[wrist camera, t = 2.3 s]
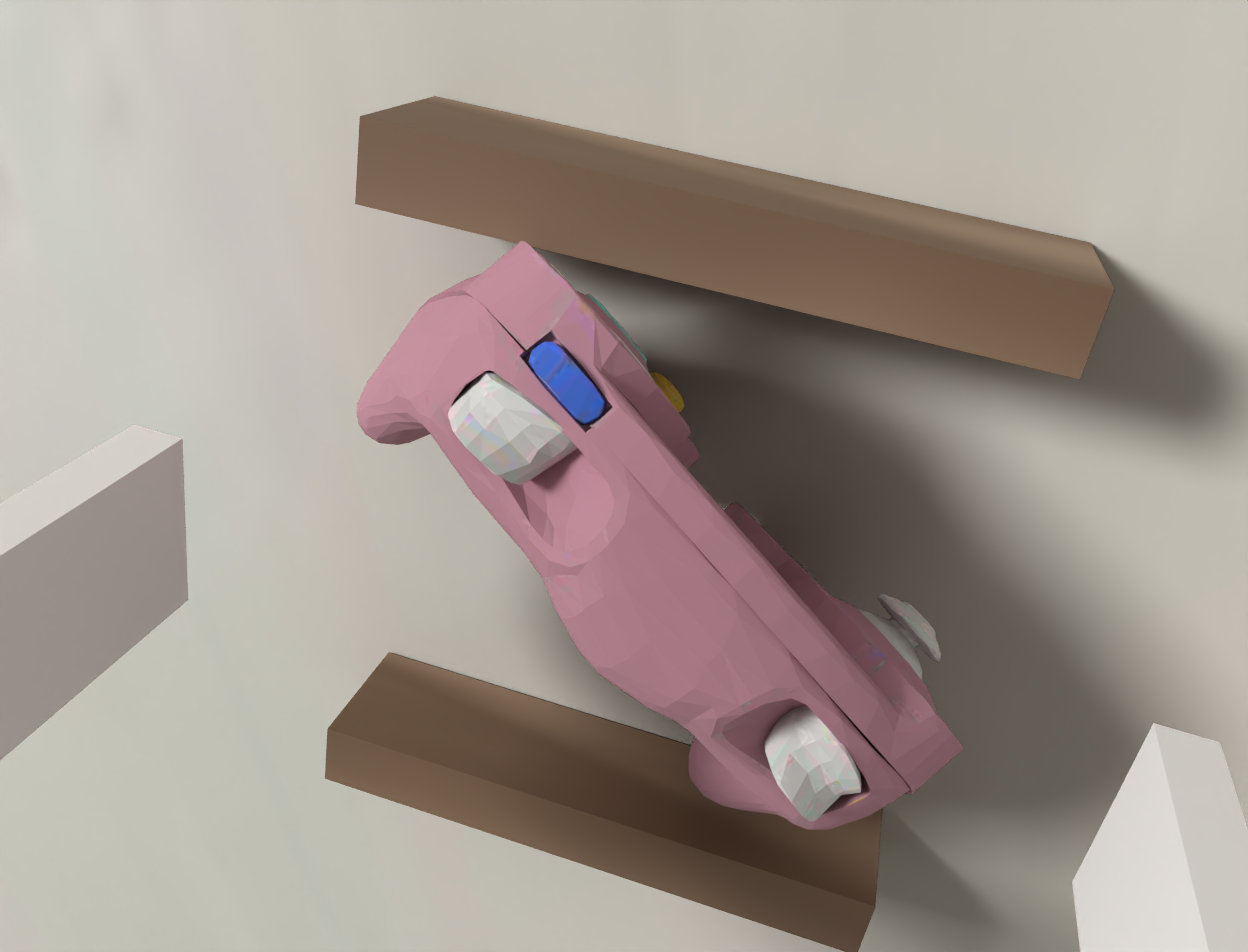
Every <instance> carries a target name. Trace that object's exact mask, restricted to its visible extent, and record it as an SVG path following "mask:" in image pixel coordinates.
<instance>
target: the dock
mask: <svg viewBox="0 0 1248 952" xmlns="http://www.w3.org/2000/svg"><path fill="white" fill-rule="evenodd" d="M355 204H358V205H362V206H366V207H370V208H374V209H378V210H383V211H387V212H391V213H395V214H399V215H403V216H407V217H411V218H416V219H420V220H424V221H428V222H432V223H436V224H440V225H444V226H449V227H453V228H457V229H461V230H465V231H469V232H473V233H477V234H482V235H486V236H490V237H494V238H498V239H502V240H506V241H510V242H514V243H519V242H521V241H525V242H526V243H528V244H529V245H530V246H532V247H535V248H539V249H543V250H547V251H552V252H556V253H560V254H564V255H568V256H572V257H576V258H580V259H585V260H589V261H593V262H597V263H601V264H605V265H609V266H613V267H617V268H622V269H626V270H630V271H634V272H638V273H642V274H646V275H650V276H655V277H659V278H663V279H667V280H671V281H675V282H679V283H683V284H688V285H692V286H696V287H700V288H704V289H708V290H712V291H716V292H721V293H725V294H729V295H733V296H737V297H741V298H745V299H749V300H753V301H758V302H762V303H766V304H770V305H774V306H778V307H782V308H786V309H791V310H795V311H799V312H803V313H807V314H811V315H815V316H819V317H824V318H828V319H832V320H836V321H840V322H844V323H848V324H852V325H857V326H861V327H865V328H869V329H873V330H877V331H881V332H885V333H889V334H894V335H898V336H902V337H906V338H910V339H914V340H918V341H922V342H927V343H931V344H935V345H939V346H943V347H947V348H951V349H955V350H960V351H964V352H968V353H972V354H976V355H980V356H984V357H988V358H992V359H997V360H1001V361H1005V362H1009V363H1013V364H1017V365H1021V366H1025V367H1030V368H1034V369H1038V370H1042V371H1046V372H1050V373H1054V374H1058V375H1063V376H1067V377H1071V378H1075V379H1079V380H1080V378H1081V375H1082V372H1083V370H1084V367H1085V365H1086V362H1087V360H1088V357H1089V354H1090V352H1091V349H1092V347H1093V344H1094V342H1095V339H1096V336H1097V334H1098V331H1099V329H1100V326H1101V323H1102V321H1103V318H1104V316H1105V313H1106V311H1107V308H1108V305H1109V303H1110V300H1111V298H1112V295H1113V293H1114V290H1115V289H1114V287H1113V285H1112V283H1111V281H1110V279H1109V277H1108V275H1107V273H1106V271H1105V270H1104V268H1103V266H1102V264H1101V262H1100V260H1099V258H1098V256H1097V254H1096V252H1095V250H1094V248H1093V246H1092V244H1091V243H1089V242H1085V241H1080V240H1076V239H1071V238H1067V237H1062V236H1058V235H1054V234H1049V233H1045V232H1040V231H1036V230H1031V229H1027V228H1022V227H1018V226H1013V225H1009V224H1004V223H1000V222H995V221H991V220H986V219H982V218H977V217H973V216H968V215H964V214H960V213H955V212H951V211H946V210H942V209H937V208H933V207H928V206H924V205H919V204H915V203H910V202H906V201H901V200H897V199H892V198H888V197H883V196H879V195H874V194H870V193H865V192H861V191H857V190H852V189H848V188H843V187H839V186H834V185H830V184H825V183H821V182H816V181H812V180H807V179H803V178H798V177H794V176H789V175H785V174H780V173H776V172H771V171H767V170H763V169H758V168H754V167H749V166H745V165H740V164H736V163H731V162H727V161H722V160H718V159H713V158H709V157H704V156H700V155H695V154H691V153H686V152H682V151H677V150H673V149H669V148H664V147H660V146H655V145H651V144H646V143H642V142H637V141H633V140H628V139H624V138H619V137H615V136H610V135H606V134H601V133H597V132H592V131H588V130H583V129H579V128H574V127H570V126H566V125H561V124H557V123H552V122H548V121H543V120H539V119H534V118H530V117H525V116H521V115H516V114H512V113H507V112H503V111H498V110H494V109H489V108H485V107H480V106H476V105H472V104H467V103H463V102H458V101H454V100H449V99H445V98H440V97H436V96H434V97H430V98H427V99H423V100H419V101H415V102H412V103H408V104H404V105H401V106H397V107H393V108H389V109H386V110H382V111H378V112H375V113H371V114H367V115H363V116H360V125H359V144H358V163H357V182H356V201H355ZM690 748H691V746H689V745H686V744H683V743H680V742H676V741H673V740H670V739H667V738H663V737H660V736H657V735H654V734H651V733H647V732H644V731H641V730H638V729H634V728H631V727H628V726H625V725H622V724H618V723H615V722H612V721H609V720H605V719H602V718H599V717H596V716H593V715H589V714H586V713H583V712H580V711H576V710H573V709H570V708H567V707H563V706H560V705H557V704H554V703H551V702H547V701H544V700H541V699H538V698H534V697H531V696H528V695H525V694H522V693H518V692H515V691H512V690H509V689H505V688H502V687H499V686H496V685H493V684H489V683H486V682H483V681H480V680H476V679H473V678H470V677H467V676H464V675H460V674H457V673H454V672H451V671H447V670H444V669H441V668H438V667H435V666H431V665H428V664H425V663H422V662H418V661H415V660H412V659H409V658H405V657H402V656H399V655H396V654H393V653H388V654H387V655H386V657H385V658H384V659H383V660H382V662H381V663H380V664H379V665H378V667H377V668H376V669H375V670H374V672H373V673H372V674H371V675H370V677H369V678H368V679H367V680H366V682H365V683H364V684H363V685H362V687H361V688H360V689H359V690H358V692H357V693H356V694H355V695H354V697H353V698H352V699H351V700H350V702H349V703H348V704H347V705H346V707H345V708H344V709H343V710H342V712H341V713H340V714H339V715H338V717H337V718H336V719H335V720H334V722H333V723H332V724H331V725H330V727H329V728H328V732H327V751H326V770H325V779H328V780H331V781H334V782H337V783H340V784H343V785H346V786H349V787H352V788H355V789H358V790H361V791H364V792H367V793H370V794H373V795H376V796H379V797H382V798H385V799H388V800H391V801H394V802H397V803H400V804H403V805H406V806H409V807H412V808H415V809H418V810H421V811H424V812H427V813H430V814H433V815H436V816H439V817H442V818H445V819H448V820H451V821H454V822H457V823H460V824H463V825H466V826H469V827H472V828H475V829H478V830H481V831H484V832H487V833H490V834H493V835H496V836H499V837H502V838H505V839H508V840H511V841H514V842H517V843H520V844H523V845H527V846H530V847H533V848H536V849H539V850H542V851H545V852H548V853H551V854H554V855H557V856H560V857H563V858H566V859H569V860H572V861H575V862H578V863H581V864H584V865H587V866H590V867H593V868H596V869H599V870H602V871H605V872H608V873H611V874H614V875H617V876H620V877H623V878H626V879H629V880H632V881H635V882H638V883H641V884H644V885H647V886H650V887H653V888H656V889H659V890H662V891H665V892H668V893H671V894H674V895H677V896H680V897H683V898H686V899H689V900H692V901H695V902H698V903H701V904H704V905H707V906H710V907H713V908H716V909H719V910H722V911H725V912H728V913H731V914H734V915H737V916H740V917H743V918H746V919H749V920H752V921H755V922H758V923H761V924H764V925H767V926H770V927H773V928H776V929H779V930H782V931H785V932H788V933H791V934H794V935H797V936H800V937H803V938H806V939H809V940H812V941H815V942H818V943H821V944H824V945H827V946H830V947H833V948H836V949H839V950H842V951H845V952H858V950H859V947H860V945H861V942H862V940H863V937H864V934H865V932H866V929H867V927H868V924H869V922H870V919H871V916H872V914H873V911H874V909H875V903H876V889H877V876H878V862H879V848H880V834H881V820H882V808H881V809H879V810H878V811H876V812H874V813H873V814H871V815H869V816H867V817H864V818H861V819H858V820H856V821H853V822H850V823H847V824H844V825H841V826H838V827H835V828H832V829H826V830H807V829H805V828H802V827H800V826H797V825H795V824H792V823H791V822H790V821H789V820H787V819H786V818H783V817H781V816H779V815H777V814H770V813H761V812H753V811H744V810H739V809H735V808H730V807H726V806H722V805H720V804H718V803H716V802H714V801H712V800H710V799H708V798H706V797H705V796H703V794H702V793H701V792H700V791H699V789H698V788H697V787H696V786H695V784H694V783H693V782H692V781H691V779H690V776H689V771H688V768H689V752H690Z"/></svg>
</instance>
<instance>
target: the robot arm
mask: <svg viewBox="0 0 1248 952" xmlns="http://www.w3.org/2000/svg"><path fill="white" fill-rule="evenodd" d="M187 600H188V584H187V556H186V527H185V499H184V470H183V442H182V438H178V437H175V436H172V435H168V434H165V433H161V432H158V431H154V430H151V429H148V428H144V427H141V426H137V425H132V426H131V427H129V428H127V429H126V430H124V431H122V432H121V433H119V434H117V435H115V436H114V437H112V438H110V439H109V440H107V441H105V442H104V443H102V444H100V445H98V446H97V447H95V448H93V449H92V450H90V451H88V452H87V453H85V454H83V455H81V456H80V457H78V458H76V459H75V460H73V461H71V462H70V463H68V464H66V465H64V466H63V467H61V468H59V469H58V470H56V471H54V472H52V473H51V474H49V475H47V476H46V477H44V478H42V479H41V480H39V481H37V482H35V483H34V484H32V485H30V486H29V487H27V488H25V489H24V490H22V491H20V492H18V493H17V494H15V495H13V496H12V497H10V498H8V499H7V500H5V501H3V502H1V503H0V760H1V759H2V758H4V757H5V756H6V755H7V754H8V753H9V752H11V751H12V750H13V749H14V748H15V747H16V746H18V745H19V744H20V743H21V742H22V741H23V740H25V739H26V738H27V737H28V736H29V735H30V734H32V733H33V732H34V731H35V730H36V729H37V728H39V727H40V726H41V725H42V724H43V723H44V722H46V721H47V720H48V719H49V718H50V717H52V716H53V715H54V714H55V713H56V712H57V711H59V710H60V709H61V708H62V707H63V706H64V705H66V704H67V703H68V702H69V701H70V700H71V699H73V698H74V697H75V696H76V695H77V694H78V693H80V692H81V691H82V690H83V689H84V688H85V687H87V686H88V685H89V684H90V683H91V682H92V681H94V680H95V679H96V678H97V677H98V676H99V675H101V674H102V673H103V672H104V671H105V670H106V669H108V668H109V667H110V666H111V665H112V664H113V663H115V662H116V661H117V660H118V659H119V658H121V657H122V656H123V655H124V654H125V653H126V652H128V651H129V650H130V649H131V648H132V647H133V646H135V645H136V644H137V643H138V642H139V641H140V640H142V639H143V638H144V637H145V636H146V635H147V634H149V633H150V632H151V631H152V630H153V629H154V628H156V627H157V626H158V625H159V624H160V623H161V622H163V621H164V620H165V619H166V618H167V617H168V616H170V615H171V614H172V613H173V612H174V611H175V610H177V609H178V608H179V607H180V606H181V605H183V604H184V603H185V602H186V601H187ZM1072 885H1073V893H1074V902H1075V911H1076V919H1077V928H1078V937H1079V945H1080V952H1248V828H1247V825H1246V822H1245V819H1244V816H1243V812H1242V809H1241V806H1240V803H1239V800H1238V797H1237V794H1236V791H1235V787H1234V784H1233V781H1232V778H1231V775H1230V772H1229V769H1228V765H1227V762H1226V759H1225V756H1224V753H1223V750H1222V747H1221V744H1220V742H1217V741H1213V740H1210V739H1207V738H1203V737H1200V736H1196V735H1193V734H1189V733H1186V732H1183V731H1179V730H1176V729H1172V728H1169V727H1166V726H1162V725H1159V724H1155V723H1153V725H1152V727H1151V729H1150V731H1149V733H1148V735H1147V737H1146V739H1145V741H1144V743H1143V745H1142V747H1141V749H1140V751H1139V753H1138V755H1137V756H1136V758H1135V760H1134V762H1133V764H1132V766H1131V768H1130V770H1129V772H1128V774H1127V776H1126V778H1125V780H1124V782H1123V784H1122V786H1121V788H1120V790H1119V792H1118V794H1117V796H1116V798H1115V800H1114V801H1113V803H1112V805H1111V807H1110V809H1109V811H1108V813H1107V815H1106V817H1105V819H1104V821H1103V823H1102V825H1101V827H1100V829H1099V831H1098V833H1097V835H1096V837H1095V839H1094V841H1093V843H1092V845H1091V846H1090V848H1089V850H1088V852H1087V854H1086V856H1085V858H1084V860H1083V862H1082V864H1081V866H1080V868H1079V870H1078V872H1077V874H1076V876H1075V878H1074V880H1073V882H1072Z"/></svg>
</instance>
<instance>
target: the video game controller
mask: <svg viewBox="0 0 1248 952" xmlns="http://www.w3.org/2000/svg"><path fill="white" fill-rule="evenodd" d="M646 364H647V358H646V357H645V356H644V354H643V353H642V352H641V350H640V349H639V348H638V347H637V345H636V344H635V343H634V342H633V340H632V339H631V338H630V336H629V335H628V334H627V333H626V331H625V330H624V329H623V328H622V327H621V326H620V325H619V323H618V322H617V321H616V320H615V319H614V318H613V317H612V316H611V315H610V313H609V312H608V311H607V310H606V309H605V308H604V307H603V306H602V304H601V303H599V302H598V301H597V300H596V299H595V298H594V297H592V296H591V295H590V294H586V295H584V294H582V293H580V292H577V291H575V290H574V289H573V288H572V286H571V285H570V284H569V282H568V281H567V280H566V279H565V277H564V276H563V275H562V274H561V273H560V272H559V271H558V270H557V269H556V267H555V266H554V265H552V264H551V263H549V262H548V261H547V260H546V259H545V258H544V257H543V256H542V255H541V254H540V253H539V252H537V251H536V250H535V249H534V248H533V247H532V246H530V245H529V244H528V243H526V242H525V241H521V242H519V243H518V244H517V245H516V246H515V247H513V248H512V249H511V250H510V251H509V252H507V253H506V254H505V255H504V256H503V257H501V258H500V259H499V260H498V261H497V262H495V263H494V264H493V265H492V266H491V267H489V268H488V269H487V270H486V271H485V272H483V273H482V274H480V275H477V276H474V277H472V278H469V279H466V280H464V281H462V282H460V283H459V284H457V285H455V286H453V287H451V288H449V289H447V290H445V291H443V292H441V293H440V294H438V295H436V296H434V297H432V298H430V299H429V300H428V301H427V302H426V303H425V304H424V305H423V306H422V307H421V308H420V309H419V310H418V312H417V313H416V314H415V315H414V317H413V318H412V320H411V321H410V322H409V324H408V325H407V327H406V328H405V330H404V331H403V332H402V334H401V335H400V337H399V338H398V340H397V341H396V342H395V344H394V345H393V347H392V348H391V349H390V351H389V352H388V354H387V355H386V357H385V358H384V359H383V361H382V362H381V364H380V365H379V366H378V368H377V369H376V371H375V372H374V373H373V375H372V376H371V377H370V379H369V380H368V381H367V383H366V386H365V388H364V390H363V392H362V394H361V396H360V399H359V401H358V403H357V417H358V424H359V425H360V427H361V428H362V430H363V431H364V433H365V434H366V435H368V436H369V437H371V438H372V439H374V440H376V441H377V442H379V443H385V444H396V445H399V444H404V443H410V442H412V441H414V440H417V439H419V438H422V437H424V436H426V435H429V434H431V435H432V437H433V438H434V439H435V441H436V442H437V444H438V445H439V446H440V448H441V449H442V451H443V452H444V453H445V455H446V456H447V458H448V459H449V460H450V462H451V463H452V465H453V466H454V467H455V469H456V470H457V472H458V473H459V475H460V476H461V477H462V479H463V480H464V482H465V483H466V484H467V486H468V487H469V489H470V490H471V491H472V493H473V494H474V495H475V496H476V498H477V499H478V500H479V501H480V502H481V503H482V505H483V506H484V507H485V508H486V509H487V510H488V511H489V513H490V514H491V515H492V516H493V517H494V518H495V520H496V521H497V522H498V523H499V524H500V525H501V526H502V528H503V529H504V530H505V531H506V532H507V533H508V535H509V536H510V537H511V538H512V539H513V540H514V542H515V543H516V544H517V545H518V546H519V547H520V548H521V550H522V551H523V552H524V553H525V555H526V556H527V557H528V559H529V560H530V562H531V563H532V564H533V566H534V567H535V569H536V570H537V571H538V573H539V574H540V575H541V577H542V578H543V581H544V583H545V586H546V588H547V590H548V593H549V595H550V598H551V600H552V603H553V605H554V608H555V610H556V612H557V614H558V615H559V617H560V619H561V621H562V622H563V624H564V626H565V628H566V629H567V631H568V633H569V635H570V636H571V638H572V640H573V642H574V643H575V645H576V647H577V649H578V650H579V651H580V652H581V654H582V655H583V656H584V657H585V658H586V659H587V660H588V661H589V663H590V664H591V665H592V666H593V667H594V668H595V669H596V670H597V672H598V673H599V674H600V675H601V676H602V677H604V678H605V679H607V680H608V681H610V682H611V683H613V684H614V685H616V686H617V687H618V688H620V689H621V690H623V691H624V692H626V693H627V694H629V695H630V696H632V697H633V698H634V699H636V700H637V701H639V702H640V703H642V704H643V705H645V706H646V707H648V708H649V709H651V710H653V711H655V712H658V713H660V714H662V715H664V716H666V717H668V718H671V719H673V720H675V721H677V722H678V723H679V724H681V725H682V726H683V727H684V728H686V729H687V730H688V731H690V732H691V733H692V734H693V735H694V736H695V739H694V741H693V743H692V744H691V748H690V752H689V768H688V771H689V776H690V779H691V781H692V782H693V783H694V784H695V786H696V787H697V788H698V789H699V791H700V792H701V793H702V794H703V796H705V797H706V798H708V799H710V800H712V801H714V802H716V803H718V804H720V805H722V806H726V807H730V808H735V809H739V810H744V811H753V812H761V813H770V814H777V815H779V816H781V817H783V818H786V819H787V820H789V821H790V822H791V823H792V824H795V825H797V826H800V827H802V828H805V829H807V830H826V829H832V828H835V827H838V826H841V825H844V824H847V823H850V822H853V821H856V820H858V819H861V818H864V817H867V816H869V815H871V814H873V813H874V812H876V811H878V810H879V809H881V808H883V807H885V806H886V805H888V804H890V803H892V802H893V801H895V800H897V799H898V798H899V797H901V796H902V795H903V794H912V793H914V792H915V791H916V790H917V789H918V788H919V787H920V786H922V785H923V784H924V783H925V782H926V781H927V780H928V779H930V778H931V777H932V776H933V775H934V774H935V773H936V772H938V771H939V770H940V769H941V768H942V767H943V766H944V765H946V764H947V763H948V762H949V761H950V760H951V759H952V758H954V757H955V756H956V755H957V754H958V753H959V752H960V751H961V750H962V745H961V743H960V742H959V741H958V739H957V738H956V737H955V735H954V734H953V733H952V731H951V730H950V728H949V727H948V726H947V724H946V723H945V722H944V721H943V720H942V719H941V717H940V716H939V715H938V713H937V710H936V707H935V704H934V701H933V699H932V697H931V694H930V692H929V690H928V688H927V686H926V685H925V684H924V682H923V681H922V668H921V665H920V662H919V659H918V656H917V653H916V650H915V647H916V646H917V645H918V646H919V647H920V648H921V649H922V650H923V651H924V652H925V653H926V654H927V655H928V656H929V657H930V658H931V659H932V660H934V661H936V662H940V657H941V652H940V650H939V643H938V642H937V641H936V638H935V635H936V633H935V631H934V629H933V628H932V627H931V625H930V624H929V623H928V622H927V621H926V619H925V618H924V617H923V616H922V615H921V614H920V613H919V612H918V611H917V610H916V609H915V608H914V607H913V606H912V605H911V604H909V603H908V602H907V601H905V602H901V601H900V600H899V599H897V598H894V597H889V596H887V595H885V594H881V595H880V596H879V597H878V600H879V601H880V603H881V604H882V606H883V607H884V608H885V609H886V611H887V612H888V613H889V614H890V615H891V617H892V618H891V619H889V620H887V619H885V618H882V617H880V616H878V615H875V614H873V613H871V612H868V611H866V610H860V609H857V608H856V607H855V606H854V605H850V604H848V603H846V602H844V601H842V600H839V599H837V598H835V597H833V596H831V595H829V594H828V593H827V592H826V591H825V590H824V589H823V588H822V587H821V586H820V585H819V584H818V583H817V582H816V581H815V580H814V579H813V578H812V577H811V576H810V575H809V574H808V573H807V572H806V571H805V570H804V569H803V568H802V567H801V566H800V565H799V564H798V563H797V562H796V561H795V560H794V559H793V558H792V557H791V556H790V555H789V554H788V553H787V552H786V551H785V550H784V549H783V548H782V547H781V546H780V545H779V544H778V543H777V542H776V541H775V540H774V539H773V538H772V537H771V536H770V535H769V534H768V533H767V532H766V531H765V530H764V529H763V528H762V527H761V526H760V524H759V523H758V522H757V521H756V520H755V519H754V518H753V517H752V516H751V515H750V514H749V513H748V512H747V511H746V510H745V509H744V508H743V507H742V506H740V505H739V504H738V503H736V502H735V503H732V504H730V505H729V506H728V507H727V508H726V509H725V510H723V509H722V508H721V507H720V506H719V505H718V504H717V503H716V501H715V500H714V499H713V498H712V497H711V496H710V495H709V493H708V492H707V491H706V490H705V489H704V488H703V487H702V485H701V484H700V483H699V482H698V481H697V480H696V479H695V477H694V476H693V475H692V474H691V473H690V472H689V471H688V470H687V468H688V467H689V466H691V465H692V464H693V463H694V462H695V461H696V460H697V459H698V458H700V455H699V452H698V450H697V448H696V447H695V445H694V444H693V442H692V441H691V440H690V438H689V437H688V436H690V434H691V433H690V427H689V426H688V425H687V423H686V422H685V421H684V419H683V418H682V417H681V415H680V414H679V412H680V411H681V410H683V408H684V402H683V399H682V396H681V395H680V393H679V392H678V391H677V389H676V388H675V386H674V385H673V384H672V383H671V382H670V381H669V380H667V379H666V378H665V377H664V376H662V375H660V374H658V373H656V372H653V373H651V374H650V373H649V371H648V368H647V365H646Z"/></svg>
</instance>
